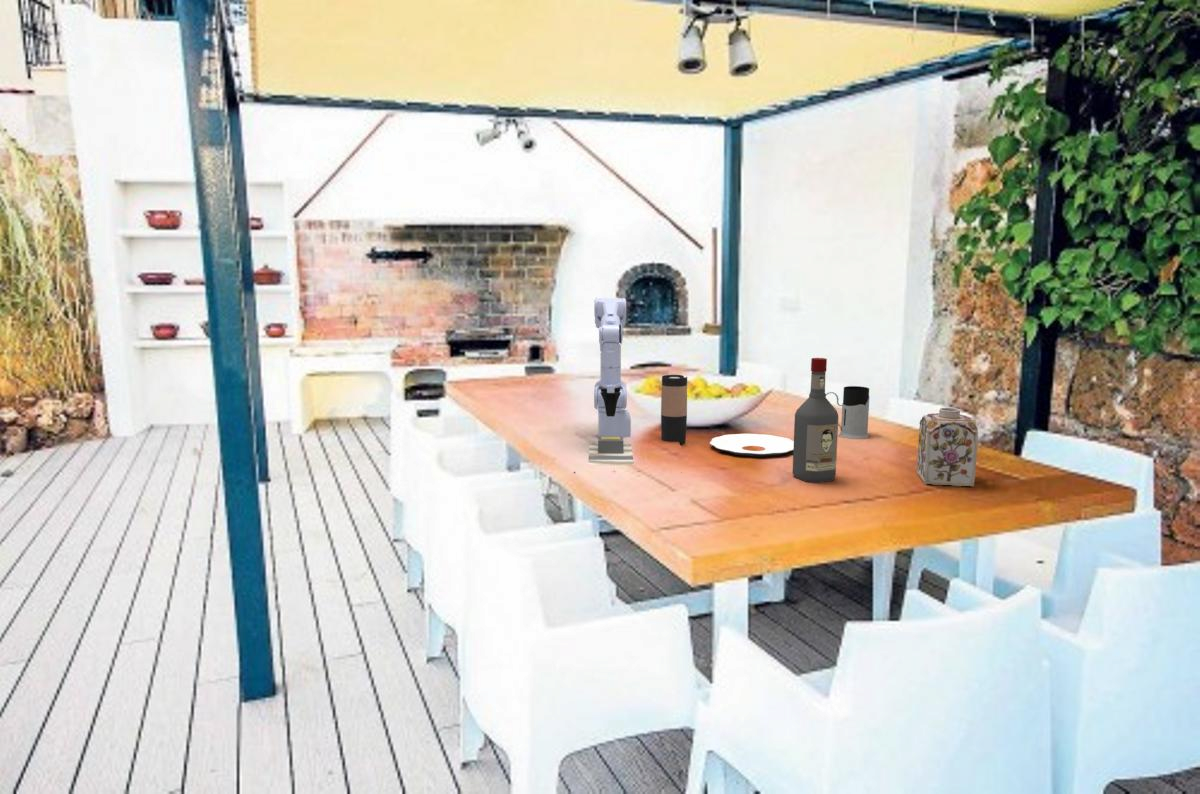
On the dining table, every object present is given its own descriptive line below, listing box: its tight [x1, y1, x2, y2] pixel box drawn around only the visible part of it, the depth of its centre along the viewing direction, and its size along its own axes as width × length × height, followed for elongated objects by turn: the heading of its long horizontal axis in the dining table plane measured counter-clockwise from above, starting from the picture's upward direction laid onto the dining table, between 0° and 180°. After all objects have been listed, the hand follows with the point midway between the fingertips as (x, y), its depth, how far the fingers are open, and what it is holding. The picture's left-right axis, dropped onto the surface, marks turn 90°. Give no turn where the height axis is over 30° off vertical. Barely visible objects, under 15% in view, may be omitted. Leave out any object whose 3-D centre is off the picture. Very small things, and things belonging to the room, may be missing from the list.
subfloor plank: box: [587, 443, 635, 466], centre depth 225 cm, size 24×12×1 cm, turn 0°
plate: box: [709, 433, 794, 458], centre depth 236 cm, size 25×25×2 cm
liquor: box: [792, 357, 840, 484], centre depth 203 cm, size 9×9×30 cm
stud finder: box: [597, 436, 625, 453], centre depth 227 cm, size 5×7×4 cm
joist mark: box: [587, 455, 634, 460], centre depth 220 cm, size 4×12×1 cm, turn 90°
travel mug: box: [660, 374, 688, 446], centre depth 242 cm, size 8×8×20 cm
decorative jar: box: [916, 407, 979, 487], centre depth 201 cm, size 12×12×18 cm
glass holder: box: [825, 385, 870, 440], centre depth 252 cm, size 9×14×15 cm, turn 89°
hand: (610, 414), depth 232 cm, fingers open, 4 cm apart
